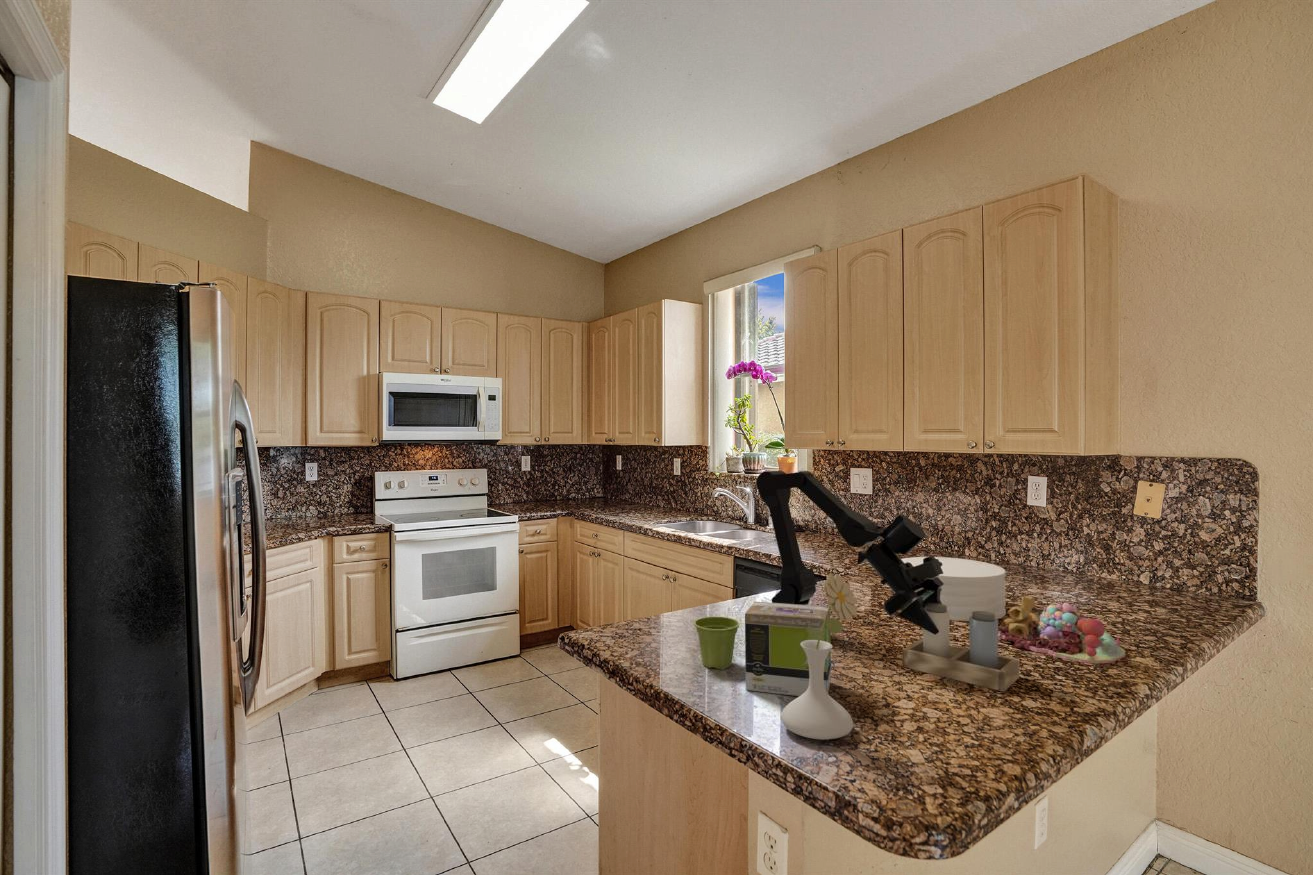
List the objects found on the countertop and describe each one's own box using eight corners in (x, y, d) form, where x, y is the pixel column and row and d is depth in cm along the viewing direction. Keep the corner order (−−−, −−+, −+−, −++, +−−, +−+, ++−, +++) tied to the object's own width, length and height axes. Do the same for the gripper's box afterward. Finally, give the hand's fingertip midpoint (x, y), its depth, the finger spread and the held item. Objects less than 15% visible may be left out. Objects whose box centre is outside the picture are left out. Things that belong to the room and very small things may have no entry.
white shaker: (938, 672, 129) (938, 610, 129) (917, 664, 133) (917, 604, 133) (955, 667, 131) (954, 606, 131) (934, 660, 136) (933, 601, 135)
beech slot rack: (902, 666, 132) (902, 649, 132) (921, 654, 139) (921, 638, 139) (1004, 691, 119) (1004, 672, 119) (1019, 677, 126) (1019, 659, 126)
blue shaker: (981, 683, 123) (980, 618, 123) (963, 673, 128) (963, 611, 128) (1004, 681, 124) (1003, 616, 124) (986, 672, 129) (985, 609, 129)
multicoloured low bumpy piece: (984, 644, 147) (984, 604, 147) (1011, 622, 164) (1011, 586, 164) (1118, 671, 130) (1118, 625, 130) (1132, 643, 148) (1132, 603, 148)
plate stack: (922, 590, 198) (922, 553, 198) (1021, 608, 178) (1021, 566, 178) (876, 606, 180) (876, 565, 180) (980, 628, 159) (980, 582, 159)
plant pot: (709, 675, 127) (709, 631, 127) (685, 660, 136) (685, 619, 136) (748, 667, 132) (748, 625, 132) (723, 653, 140) (723, 614, 140)
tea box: (831, 681, 124) (831, 605, 124) (827, 702, 115) (827, 619, 114) (753, 672, 129) (753, 598, 129) (744, 691, 119) (743, 611, 119)
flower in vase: (809, 753, 96) (809, 585, 96) (766, 722, 106) (766, 571, 106) (877, 736, 101) (877, 578, 101) (830, 708, 112) (830, 564, 112)
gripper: (899, 550, 128) (957, 616, 120) (934, 539, 142) (988, 598, 134) (861, 583, 133) (914, 648, 126) (898, 570, 147) (948, 628, 139)
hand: (943, 629), depth 131 cm, fingers open, 7 cm apart
